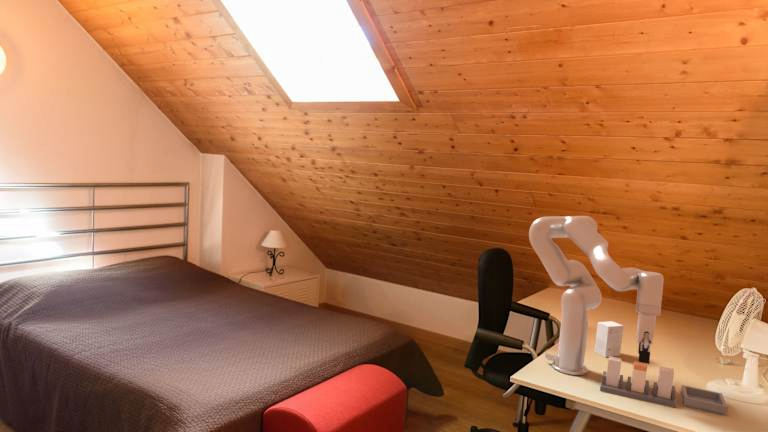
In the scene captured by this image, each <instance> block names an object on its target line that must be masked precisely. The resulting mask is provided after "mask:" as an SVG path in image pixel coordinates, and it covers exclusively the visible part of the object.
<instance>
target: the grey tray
mask: <svg viewBox="0 0 768 432" xmlns="http://www.w3.org/2000/svg"><path fill="white" fill-rule="evenodd" d="M680 396H681V401H682V404H683V405H682V406H683V407H686V408H690V409H695V410H698V411H702V412H707V413H712V414H717V415H721V416H724V415H726V416H727V412H728V405H727V402H726V400H725V398H724V395H723V393H722V392H717V391H712V390H707V389H703V388H698V387H693V386H689V385H685V384H681V387H680Z"/></svg>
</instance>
